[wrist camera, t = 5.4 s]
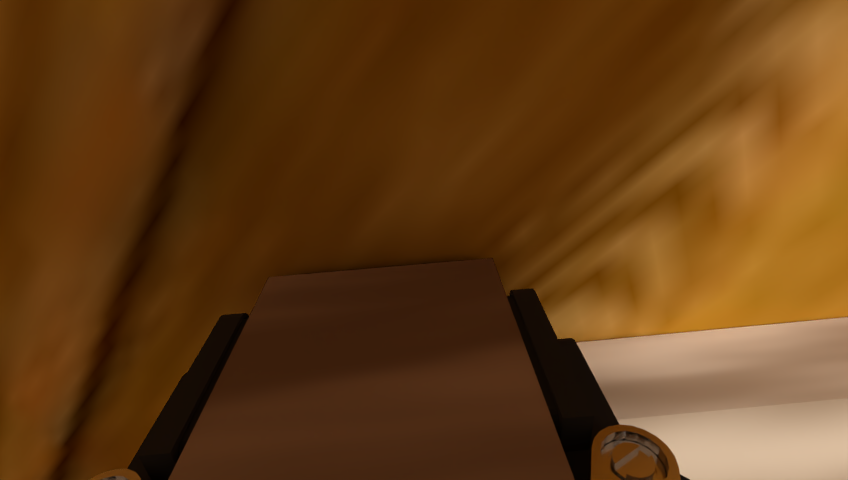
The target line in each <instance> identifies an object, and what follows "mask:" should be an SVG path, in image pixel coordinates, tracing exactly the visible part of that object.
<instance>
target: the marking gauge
mask: <svg viewBox="0 0 848 480" xmlns="http://www.w3.org/2000/svg"><path fill="white" fill-rule="evenodd" d="M168 480H575V479H574V477H573V474H572V471H571V469H570V466H569V463H568V461H567V458H566V455H565V453H564V450H563V447H562V444H561V442H560V439H559V436H558V434H557V431H556V428H555V426H554V423H553V420H552V417H551V415H550V412H549V409H548V407H547V404H546V401H545V399H544V396H543V393H542V390H541V388H540V385H539V382H538V380H537V377H536V374H535V372H534V369H533V366H532V363H531V361H530V358H529V355H528V353H527V350H526V347H525V345H524V342H523V339H522V337H521V334H520V331H519V328H518V326H517V323H516V320H515V318H514V315H513V312H512V310H511V307H510V304H509V301H508V299H507V296H506V293H505V291H504V288H503V285H502V283H501V280H500V277H499V274H498V272H497V269H496V266H495V264H494V261H493V258H487V259H475V260H463V261H451V262H440V263H428V264H416V265H404V266H393V267H381V268H369V269H357V270H346V271H334V272H322V273H311V274H299V275H287V276H275V277H269V278H268V280H267V282H266V284H265V286H264V288H263V290H262V292H261V294H260V296H259V298H258V300H257V302H256V304H255V306H254V308H253V310H252V312H251V314H250V316H249V318H248V320H247V322H246V324H245V326H244V328H243V330H242V332H241V334H240V336H239V338H238V340H237V342H236V344H235V346H234V348H233V350H232V352H231V354H230V356H229V358H228V360H227V362H226V364H225V366H224V368H223V370H222V372H221V374H220V376H219V378H218V380H217V382H216V384H215V386H214V388H213V391H212V393H211V395H210V397H209V399H208V401H207V403H206V405H205V407H204V409H203V411H202V413H201V415H200V417H199V419H198V421H197V423H196V425H195V427H194V429H193V431H192V433H191V435H190V437H189V439H188V441H187V443H186V445H185V447H184V449H183V451H182V453H181V455H180V457H179V459H178V461H177V463H176V465H175V467H174V469H173V471H172V473H171V475H170V477H169V479H168Z"/></svg>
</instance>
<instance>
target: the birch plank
mask: <svg viewBox="0 0 848 480" xmlns="http://www.w3.org/2000/svg"><path fill="white" fill-rule="evenodd" d="M577 345H578V347H579V348H580V350H581V352H582V354H583V356H584V358H585V360H586V362H587V364H588V366H589V367H590V369H591V371H592V373H593V375H594V377H595V379H596V381H597V383H598V384H599V386H600V388H601V390H602V392H603V394H604V396H605V398H606V400H607V402H608V403H609V405H610V407H611V409H612V411H613V413H614V415H615V417H616V419H617V421H618V422H619V424H620V425H631V426H635V427H638V428H641V429H644V430H646V431H648V432H650V433H652V434H653V435H655V436H657V437H658V438H659V439H660V440H662V441H663V442H664V443H665V444H666V445H667V446H668V447H669V449H670V450H671V451H672V453H673V454H674V455H675V458H676V461H677V464H678V466H679V472H680V474H681V475H682V476H684V477H686V478H688V479H690V480H848V317H846V318H835V319H824V320H814V321H803V322H792V323H781V324H771V325H760V326H749V327H738V328H728V329H717V330H706V331H695V332H685V333H674V334H663V335H652V336H642V337H631V338H620V339H609V340H599V341H588V342H577Z"/></svg>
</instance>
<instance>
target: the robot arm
mask: <svg viewBox="0 0 848 480" xmlns="http://www.w3.org/2000/svg"><path fill="white" fill-rule="evenodd" d="M507 299H508V301H509V304H510V307H511V310H512V312H513V315H514V318H515V320H516V323H517V326H518V328H519V331H520V334H521V337H522V339H523V342H524V345H525V347H526V350H527V353H528V355H529V358H530V361H531V363H532V366H533V369H534V372H535V374H536V377H537V380H538V382H539V385H540V388H541V390H542V393H543V396H544V399H545V401H546V404H547V407H548V409H549V412H550V415H551V417H552V420H553V423H554V426H555V428H556V431H557V434H558V436H559V439H560V442H561V444H562V447H563V450H564V453H565V455H566V458H567V461H568V463H569V466H570V469H571V471H572V474H573V477H574V479H575V480H690V479H688V478H686V477H684V476H682V475H681V474H680V472H679V466H678V464H677V461H676V458H675V455H674V454H673V453H672V451H671V450H670V449H669V447H668V446H667V445H666V444H665V443H664V442H663V441H662V440H660V439H659V438H658V437H657V436H655V435H653V434H652V433H650V432H648V431H646V430H644V429H641V428H638V427H635V426H631V425H620V424H619V422H618V421H617V419H616V417H615V415H614V413H613V411H612V409H611V407H610V405H609V403H608V402H607V400H606V398H605V396H604V394H603V392H602V390H601V388H600V386H599V384H598V383H597V381H596V379H595V377H594V375H593V373H592V371H591V369H590V367H589V366H588V364H587V362H586V360H585V358H584V356H583V354H582V352H581V350H580V348H579V347H578V345H577V343H576V342H575V340H574V339H572V338H567V339H557V336H556V334H555V332H554V330H553V328H552V326H551V324H550V322H549V320H548V318H547V315H546V313H545V311H544V309H543V307H542V305H541V303H540V301H539V299H538V297H537V294H536V292H535V291H534V289H521V290H511V291H510V296H507ZM248 318H249V315H248V314H246V313H241V314H229V315H223V316H221V317H220V318H219V320H218V322H217V323H216V325H215V327H214V328H213V330H212V332H211V334H210V335H209V337H208V339H207V340H206V342H205V344H204V345H203V347H202V349H201V351H200V352H199V354H198V356H197V357H196V359H195V361H194V362H193V364H192V366H191V367H190V369H189V371H188V372H187V373H185V374H184V376H183V377H182V378H181V380H180V381H179V383H178V385H177V386H176V388H175V390H174V391H173V393H172V395H171V396H170V398H169V400H168V401H167V403H166V405H165V406H164V408H163V410H162V411H161V413H160V415H159V417H158V418H157V420H156V422H155V423H154V425H153V427H152V428H151V430H150V432H149V433H148V435H147V437H146V438H145V440H144V442H143V443H142V445H141V447H140V448H139V450H138V452H137V453H136V455H135V457H134V458H133V460H132V462H131V463H130V465H129V467H128V468H127V469H114V470H110V471H106V472H103V473H101V474H99V475H97V476H94V477H92V478H90V479H89V480H168V479H169V477H170V475H171V473H172V471H173V469H174V467H175V465H176V463H177V461H178V459H179V457H180V455H181V453H182V451H183V449H184V447H185V445H186V443H187V441H188V439H189V437H190V435H191V433H192V431H193V429H194V427H195V425H196V423H197V421H198V419H199V417H200V415H201V413H202V411H203V409H204V407H205V405H206V403H207V401H208V399H209V397H210V395H211V393H212V391H213V388H214V386H215V384H216V382H217V380H218V378H219V376H220V374H221V372H222V370H223V368H224V366H225V364H226V362H227V360H228V358H229V356H230V354H231V352H232V350H233V348H234V346H235V344H236V342H237V340H238V338H239V336H240V334H241V332H242V330H243V328H244V326H245V324H246V322H247V320H248Z"/></svg>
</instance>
